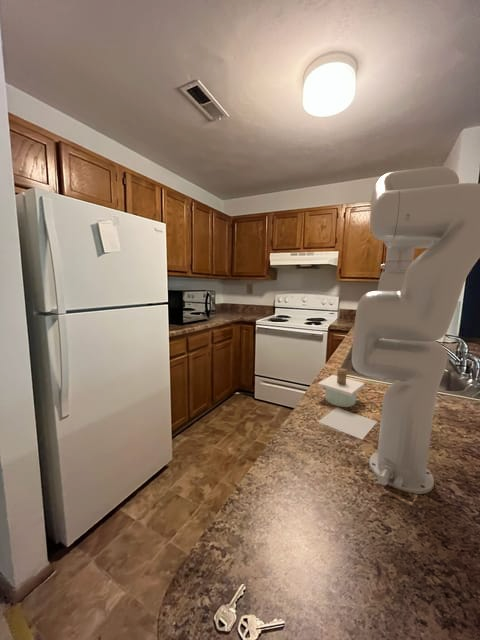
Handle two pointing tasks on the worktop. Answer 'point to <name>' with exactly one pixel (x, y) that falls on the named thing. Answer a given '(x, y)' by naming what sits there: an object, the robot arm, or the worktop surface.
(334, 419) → the mat
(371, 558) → the worktop surface
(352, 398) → the bowl
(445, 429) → the worktop surface
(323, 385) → the cover
